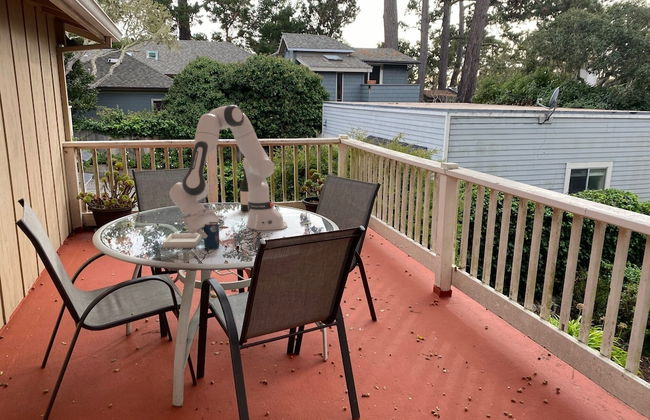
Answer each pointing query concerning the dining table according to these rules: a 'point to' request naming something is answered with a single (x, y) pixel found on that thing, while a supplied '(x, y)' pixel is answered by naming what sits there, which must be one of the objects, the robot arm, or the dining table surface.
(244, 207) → the wine bottle
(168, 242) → the tray
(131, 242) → the dining table surface
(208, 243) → the soda can
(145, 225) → the dining table surface
